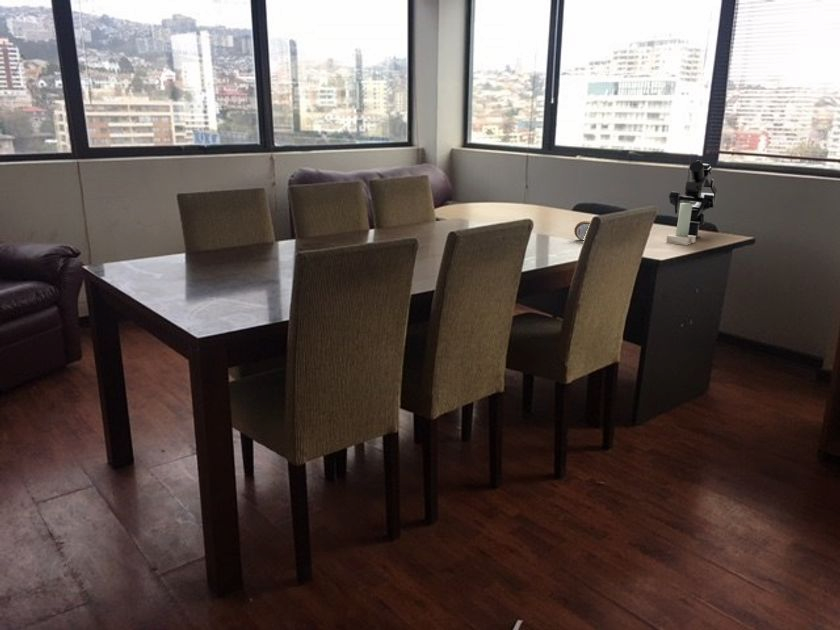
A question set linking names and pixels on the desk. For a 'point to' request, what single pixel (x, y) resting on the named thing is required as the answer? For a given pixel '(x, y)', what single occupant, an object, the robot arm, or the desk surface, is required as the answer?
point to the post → (684, 219)
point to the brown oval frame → (581, 229)
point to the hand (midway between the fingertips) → (686, 214)
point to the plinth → (680, 239)
